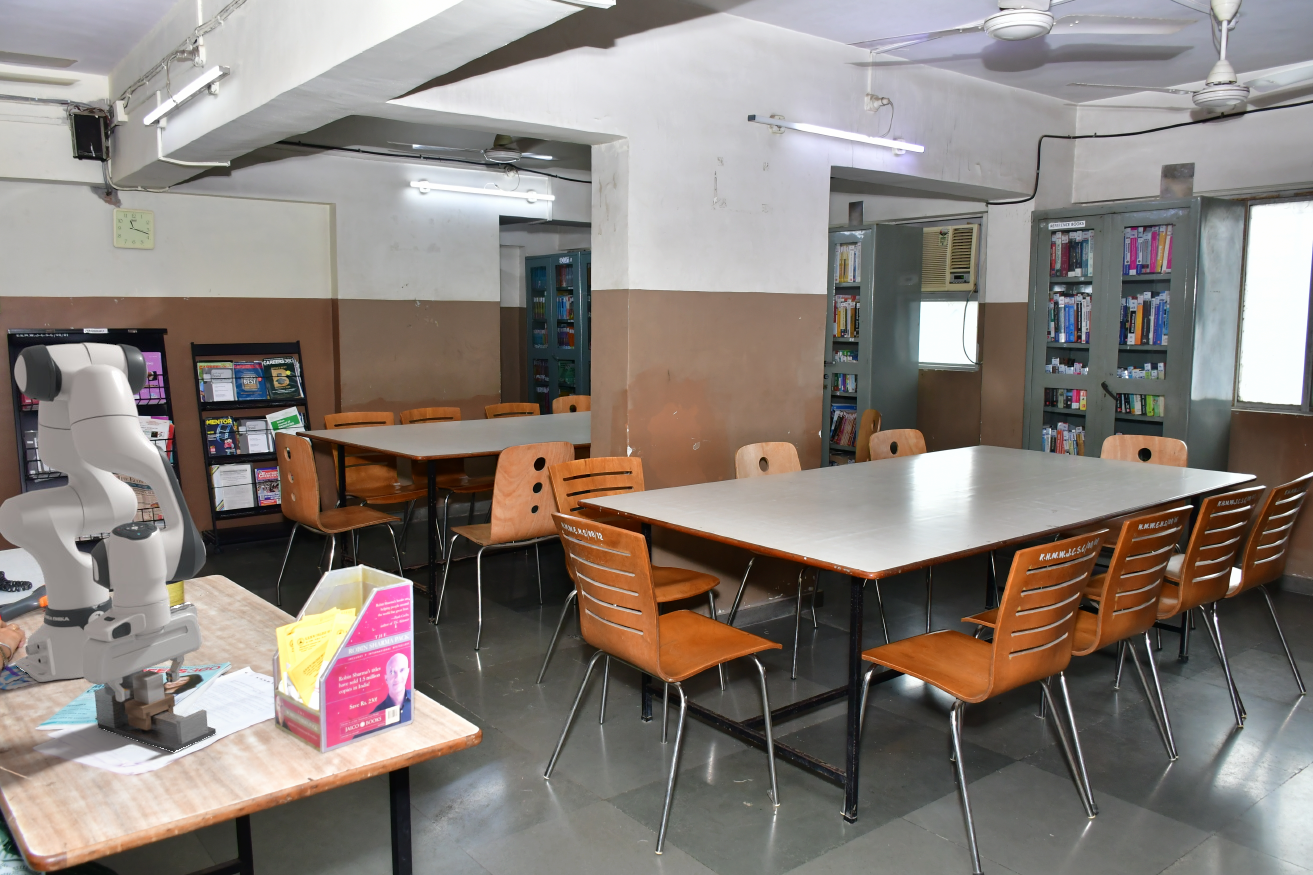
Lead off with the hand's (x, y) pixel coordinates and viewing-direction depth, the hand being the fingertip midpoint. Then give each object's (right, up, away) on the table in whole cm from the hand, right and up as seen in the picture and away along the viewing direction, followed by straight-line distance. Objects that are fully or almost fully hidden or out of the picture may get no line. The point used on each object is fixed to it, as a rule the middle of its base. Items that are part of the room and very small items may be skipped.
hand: (148, 690), depth 166 cm
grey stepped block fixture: (0, -7, +1) cm, 7 cm away
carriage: (0, -6, +1) cm, 6 cm away
